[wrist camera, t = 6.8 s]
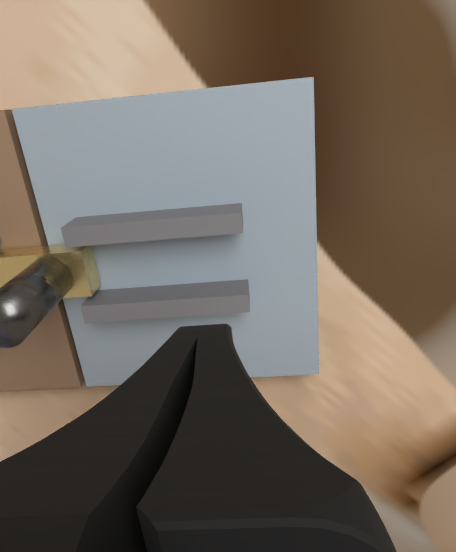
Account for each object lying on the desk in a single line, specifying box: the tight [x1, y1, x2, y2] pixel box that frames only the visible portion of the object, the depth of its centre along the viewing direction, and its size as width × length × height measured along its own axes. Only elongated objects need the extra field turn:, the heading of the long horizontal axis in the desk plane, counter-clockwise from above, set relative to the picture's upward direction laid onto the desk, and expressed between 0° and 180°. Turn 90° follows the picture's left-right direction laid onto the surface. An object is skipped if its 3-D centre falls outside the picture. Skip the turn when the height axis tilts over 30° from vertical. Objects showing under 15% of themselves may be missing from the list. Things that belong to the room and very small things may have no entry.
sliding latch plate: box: [0, 77, 319, 392], centre depth 19 cm, size 20×13×4 cm, turn 96°
